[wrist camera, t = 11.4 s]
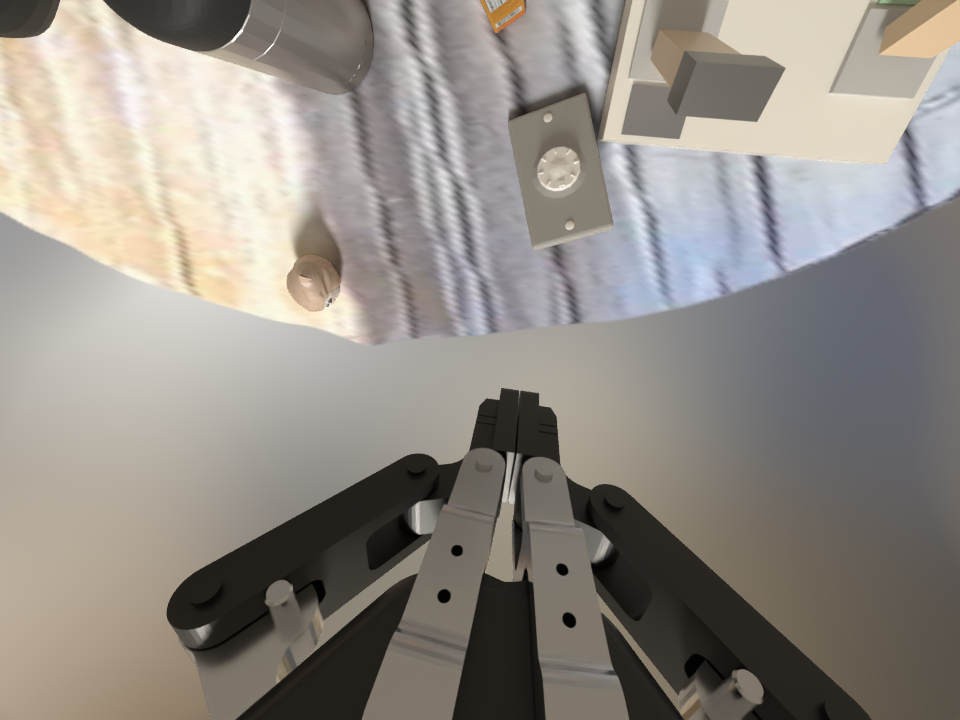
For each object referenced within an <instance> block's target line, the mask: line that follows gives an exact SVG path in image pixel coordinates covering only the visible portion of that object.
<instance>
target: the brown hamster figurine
mask: <svg viewBox="0 0 960 720" xmlns="http://www.w3.org/2000/svg"><path fill="white" fill-rule="evenodd" d="M287 288H288V291H289V293H290V294H291V296H292V297H293V299H294V300H295V301H296V302H297V303H298V304H299V305H300V306H302V307H303V308H305V309H307V310H308V311H312V312H316V311H322V310H323V309H324V308H325V307H328V306H329V305H330V304H331V305H332V304H333V303H334V302H335V300H336V299H337V297H338V295H339V293H340V277H339V275H338V273H337V271H336V270H335V269H334V267H333V265H332V264H331V263H330V262H329V261H328V260H327V259H325V258H322V257H319V256H317V255H314V254H308V255H305V256H303V257H301V258H299V259H298V260H297V261H296V262H295V263H294V267H293V269H292V270H291V271H290V273H289V274H288V276H287Z"/></svg>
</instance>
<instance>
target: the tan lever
mask: <svg viewBox="0 0 960 720" xmlns="http://www.w3.org/2000/svg"><path fill="white" fill-rule="evenodd" d="M959 41H960V0H921V1H920V2H919V3H917V4H916V5H915V6H913V7H912V8H911V9H909V10H908V11H907V12H905V13H904V14H903V15H901V16H900V17H899V18H897V19H896V20H895V21H893V22H892V23H891V24H889V25H888V26H887V27H886V28H885V31H884V35H883V39H882V42H881V46H880V50H879V54H878V55H888V56H904V57H919V58H932V57H934V56H936V55H937V54H939V53H941V52H942V51H944V50H946V49H947V48H949V47H951V46H952V45H954V44H956V43H957V42H959Z"/></svg>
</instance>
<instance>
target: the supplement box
mask: <svg viewBox="0 0 960 720" xmlns="http://www.w3.org/2000/svg"><path fill="white" fill-rule="evenodd" d="M480 1H481V3H482V5H483V8H484V10H485V12H486V14H487V16H488V18H489V20H490V23H491V25H492V27H493V29H494V32H495V33H497V32H499V31H500V30H502V29H503V28H505V27H506V26H507V25H509V24H510V23H512V22H513V21H515V20H516V19H517V18H519V17H520V16H522V15H523V14H525V12H526V8H525V2H524V0H480Z"/></svg>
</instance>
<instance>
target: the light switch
mask: <svg viewBox="0 0 960 720" xmlns="http://www.w3.org/2000/svg"><path fill="white" fill-rule="evenodd" d="M508 127H509V132H510V137H511V142H512V147H513V152H514V158H515V163H516V168H517V173H518V178H519V183H520V188H521V193H522V198H523V203H524V208H525V213H526V218H527V223H528V228H529V233H530V238H531V243H532V247H533V249H534V250H539V249H542V248H546V247H550V246H553V245H557V244H561V243H564V242H568V241H572V240H576V239H579V238H583V237H587V236H590V235H594V234H598V233H601V232H605V231H609V230H611V229H612V228H613V219H612V215H611V210H610V205H609V200H608V195H607V190H606V186H605V181H604V176H603V171H602V166H601V161H600V157H599V152H598V147H597V142H596V137H595V132H594V128H593V123H592V118H591V113H590V108H589V103H588V99H587V95H586V93H581V94H579V95H576V96H573V97H571V98H568V99H565V100H563V101H560V102H557V103H554V104H552V105H549V106H546V107H544V108H541V109H538V110H536V111H533V112H530V113H528V114H525V115H522V116H519V117H517V118H514V119H511V120H509V121H508Z"/></svg>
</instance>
